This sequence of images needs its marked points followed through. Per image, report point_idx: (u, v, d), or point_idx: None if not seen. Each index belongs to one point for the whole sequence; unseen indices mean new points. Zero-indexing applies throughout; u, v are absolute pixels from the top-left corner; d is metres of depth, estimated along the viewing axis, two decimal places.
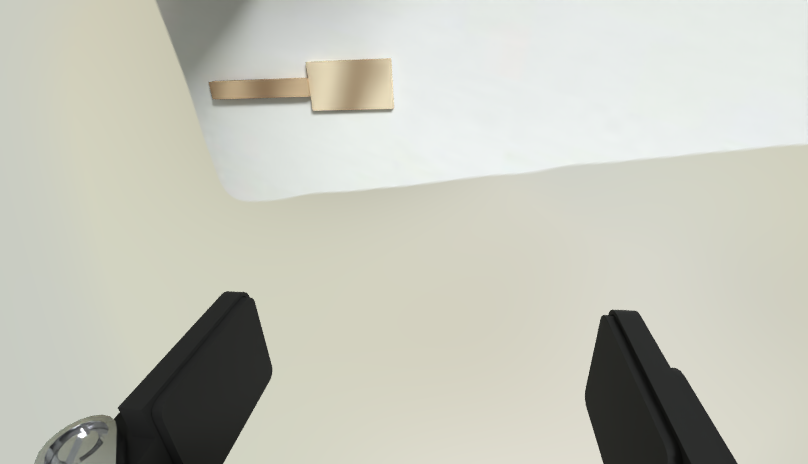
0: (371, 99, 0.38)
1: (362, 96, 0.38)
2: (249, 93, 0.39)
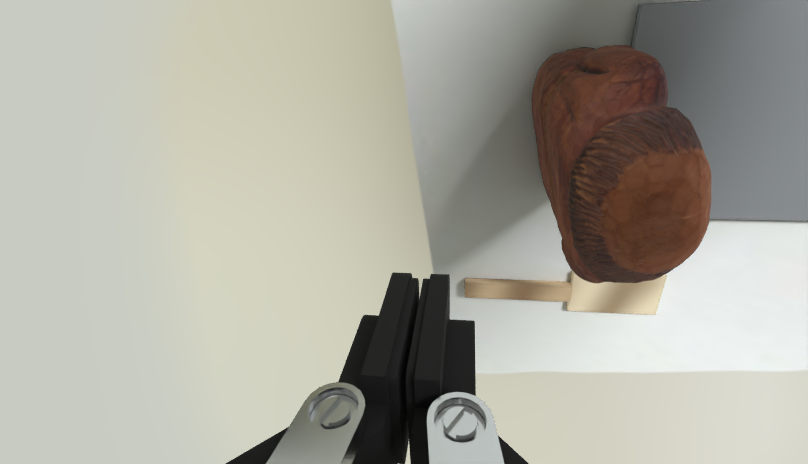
0: (634, 306, 0.38)
1: (625, 303, 0.38)
2: (506, 295, 0.39)
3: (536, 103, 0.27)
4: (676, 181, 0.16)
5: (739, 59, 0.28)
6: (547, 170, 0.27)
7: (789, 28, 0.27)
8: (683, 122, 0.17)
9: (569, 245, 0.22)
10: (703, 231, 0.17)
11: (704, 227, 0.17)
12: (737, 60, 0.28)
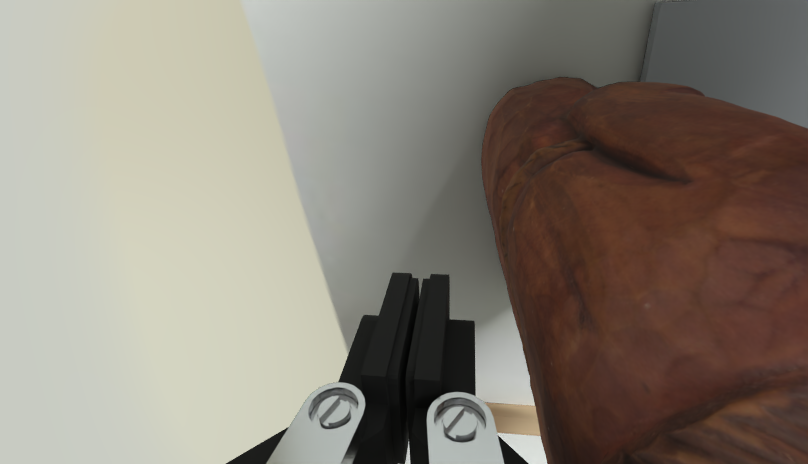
0: None
1: None
2: None
3: (487, 183, 0.15)
4: None
5: None
6: (514, 308, 0.15)
7: None
8: None
9: None
10: None
11: None
12: None
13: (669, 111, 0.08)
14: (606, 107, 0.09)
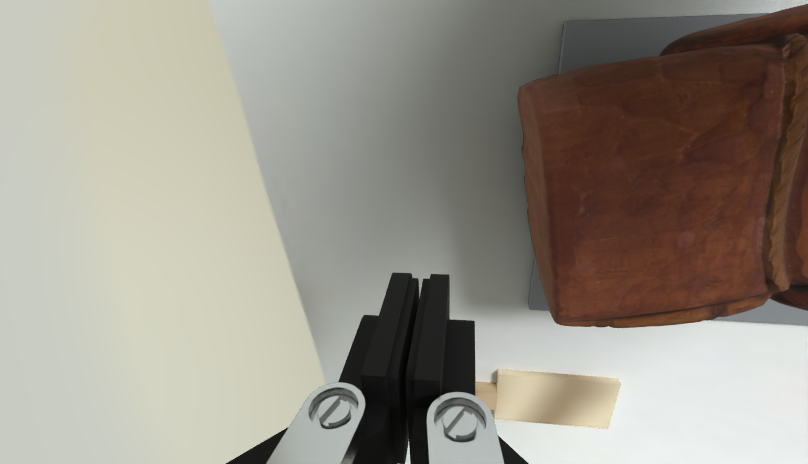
0: (580, 417, 0.29)
1: (568, 413, 0.29)
2: None
3: (688, 129, 0.14)
4: None
5: None
6: (741, 227, 0.15)
7: None
8: None
9: None
10: None
11: None
12: None
13: None
14: (773, 18, 0.15)
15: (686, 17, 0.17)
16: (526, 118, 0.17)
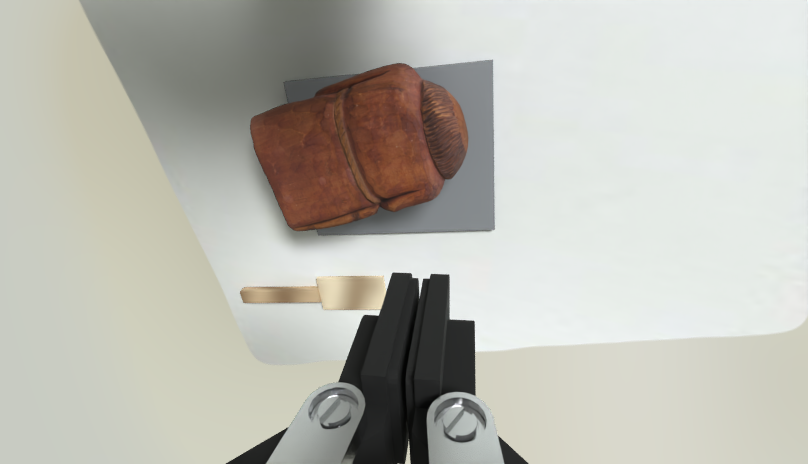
0: (369, 303, 0.48)
1: (362, 301, 0.48)
2: (272, 299, 0.49)
3: (301, 132, 0.33)
4: None
5: None
6: (341, 173, 0.34)
7: None
8: None
9: (426, 172, 0.33)
10: None
11: None
12: None
13: (363, 73, 0.34)
14: (343, 81, 0.34)
15: (334, 77, 0.37)
16: None
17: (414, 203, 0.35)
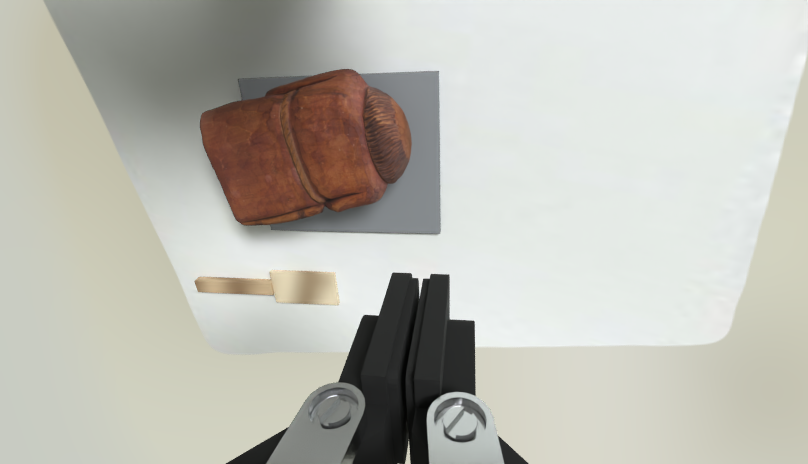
0: (321, 298, 0.49)
1: (314, 296, 0.49)
2: (226, 290, 0.50)
3: (248, 130, 0.34)
4: None
5: None
6: (286, 172, 0.36)
7: None
8: None
9: (368, 176, 0.35)
10: None
11: None
12: None
13: (312, 76, 0.35)
14: (292, 83, 0.35)
15: (287, 77, 0.38)
16: None
17: (356, 205, 0.36)
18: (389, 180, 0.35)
